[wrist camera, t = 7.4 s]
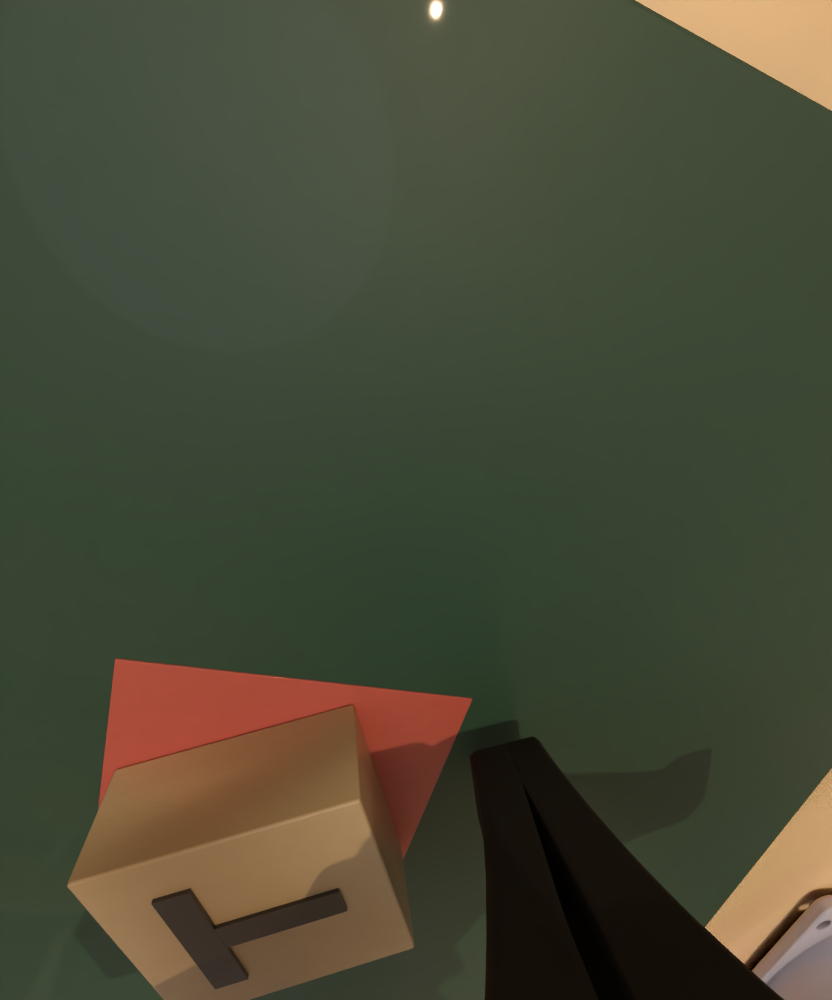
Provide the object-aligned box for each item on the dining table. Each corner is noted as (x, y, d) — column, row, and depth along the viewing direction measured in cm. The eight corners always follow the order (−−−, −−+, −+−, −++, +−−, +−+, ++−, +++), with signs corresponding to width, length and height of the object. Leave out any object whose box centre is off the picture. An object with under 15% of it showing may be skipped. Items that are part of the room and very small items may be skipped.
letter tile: (353, 702, 10) (361, 805, 8) (401, 844, 12) (416, 953, 10) (114, 768, 9) (62, 892, 7) (203, 902, 11) (179, 1028, 9)
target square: (384, 897, 12) (384, 902, 12) (89, 898, 11) (87, 903, 11) (471, 695, 10) (472, 699, 10) (117, 655, 9) (114, 659, 8)
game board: (595, 1023, 19) (606, 1052, 18) (-335, 1096, 12) (-377, 1148, 11) (1134, 310, 10) (1197, 313, 9) (-1216, -950, 3) (-1656, -1298, 2)
